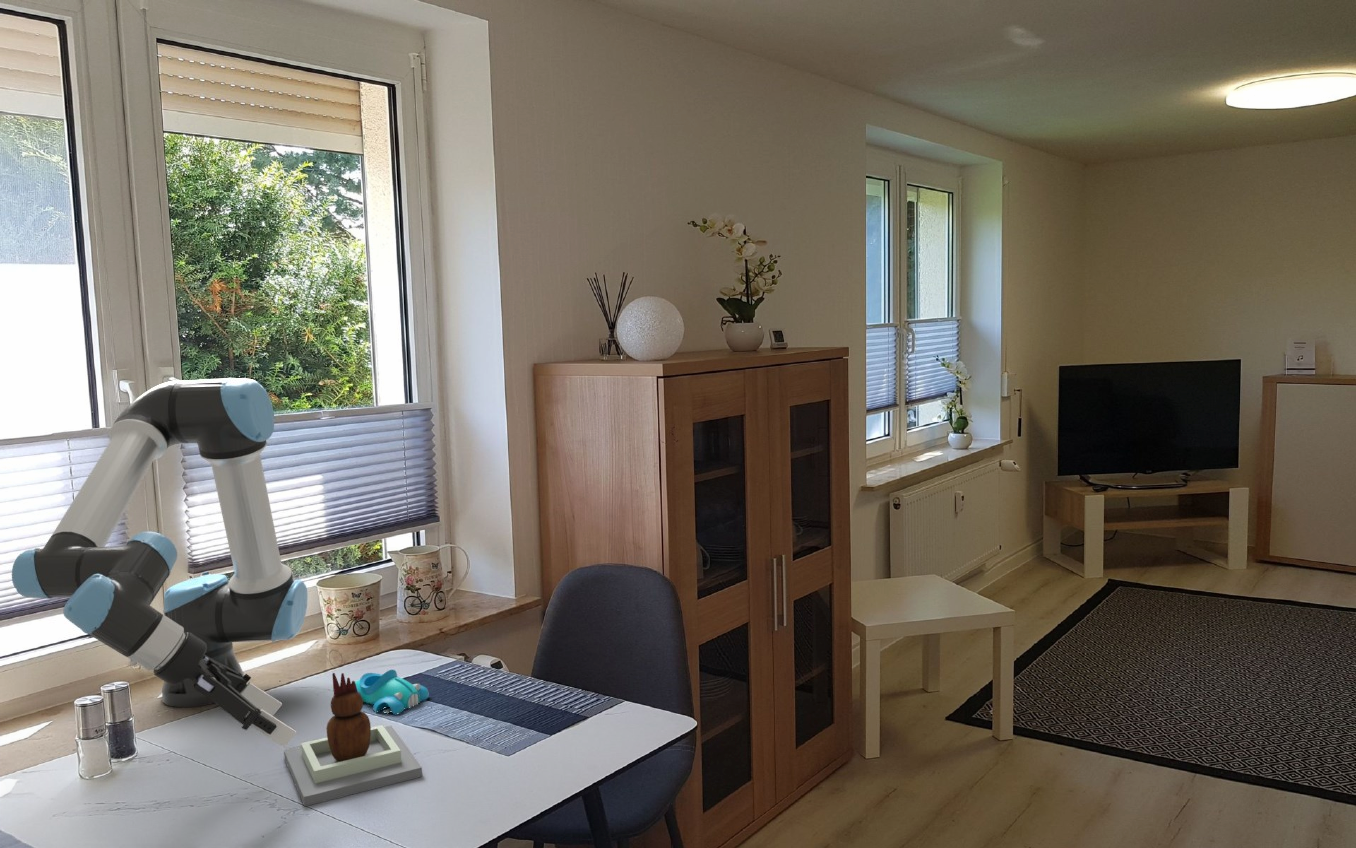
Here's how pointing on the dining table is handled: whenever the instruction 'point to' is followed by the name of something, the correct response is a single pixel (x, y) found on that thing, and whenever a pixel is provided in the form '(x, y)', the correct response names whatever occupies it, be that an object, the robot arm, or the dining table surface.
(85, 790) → the dining table surface
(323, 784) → the jig plate
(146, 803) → the dining table surface
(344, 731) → the wooden figurine
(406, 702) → the toy car
